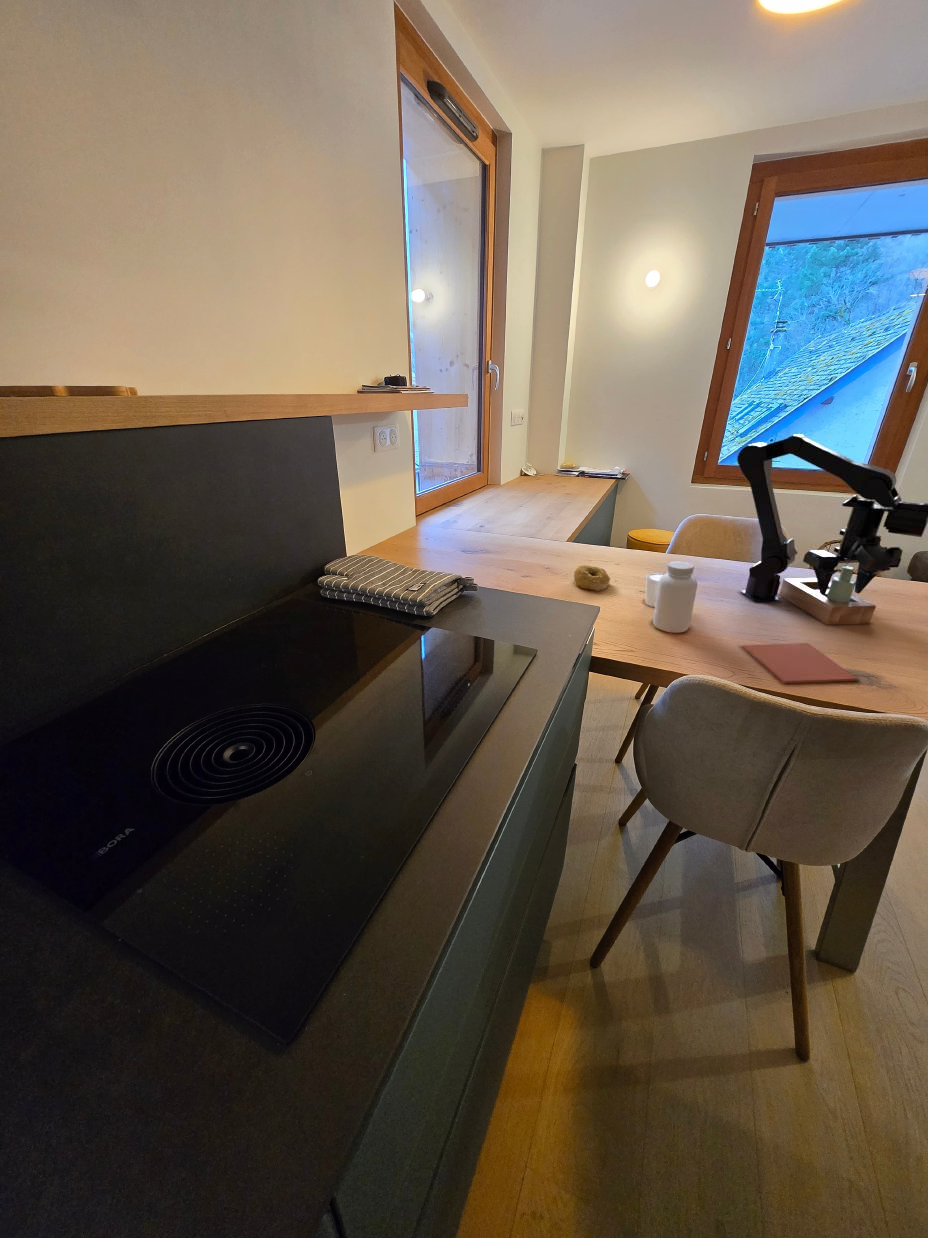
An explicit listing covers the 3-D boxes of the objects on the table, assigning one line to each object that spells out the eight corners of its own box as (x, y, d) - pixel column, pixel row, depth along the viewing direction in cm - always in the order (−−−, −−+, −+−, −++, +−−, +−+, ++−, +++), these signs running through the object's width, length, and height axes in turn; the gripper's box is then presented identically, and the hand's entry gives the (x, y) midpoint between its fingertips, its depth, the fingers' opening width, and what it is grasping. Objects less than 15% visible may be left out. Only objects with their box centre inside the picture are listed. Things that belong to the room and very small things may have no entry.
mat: (783, 683, 92) (784, 681, 92) (742, 647, 105) (743, 645, 104) (856, 680, 93) (857, 678, 92) (806, 645, 105) (807, 643, 105)
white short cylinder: (670, 599, 128) (675, 574, 125) (671, 610, 122) (676, 583, 119) (642, 596, 130) (646, 571, 127) (642, 606, 124) (646, 580, 121)
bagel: (583, 593, 133) (584, 576, 130) (567, 579, 142) (568, 563, 140) (617, 590, 134) (619, 573, 132) (599, 576, 144) (600, 560, 142)
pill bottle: (646, 619, 118) (655, 559, 111) (678, 617, 118) (690, 558, 112) (661, 634, 110) (672, 571, 104) (695, 632, 111) (708, 570, 104)
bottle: (830, 618, 116) (846, 571, 111) (817, 611, 120) (832, 564, 115) (848, 618, 116) (865, 570, 111) (834, 610, 120) (850, 564, 115)
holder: (826, 624, 114) (832, 607, 112) (778, 594, 130) (783, 578, 128) (869, 623, 114) (876, 605, 112) (816, 593, 130) (821, 577, 128)
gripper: (847, 540, 102) (825, 608, 108) (935, 537, 102) (907, 606, 109) (811, 526, 112) (792, 589, 118) (891, 523, 112) (867, 587, 119)
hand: (839, 593), depth 116 cm, fingers open, 8 cm apart
